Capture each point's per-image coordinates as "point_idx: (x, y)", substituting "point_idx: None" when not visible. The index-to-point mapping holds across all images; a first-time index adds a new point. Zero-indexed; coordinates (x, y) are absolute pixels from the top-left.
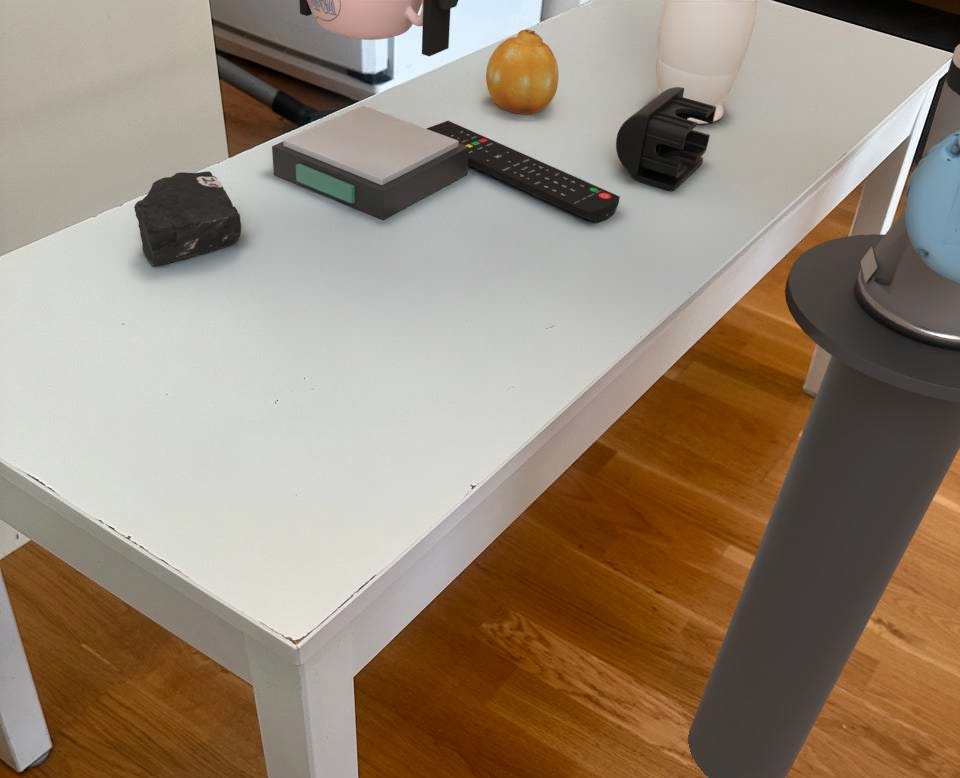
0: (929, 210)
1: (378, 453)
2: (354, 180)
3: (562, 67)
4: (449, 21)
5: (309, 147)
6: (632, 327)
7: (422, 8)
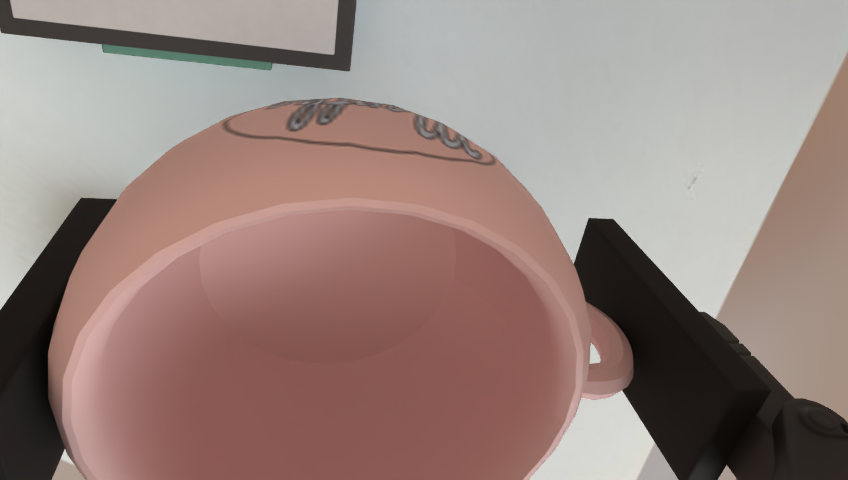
0: None
1: (582, 432)
2: (270, 61)
3: None
4: (648, 259)
5: (95, 13)
6: (799, 116)
7: (594, 344)
